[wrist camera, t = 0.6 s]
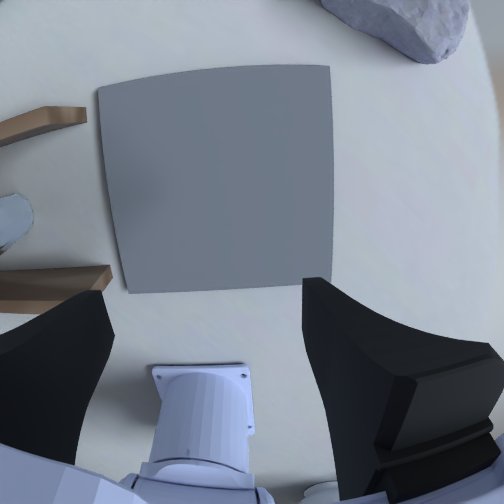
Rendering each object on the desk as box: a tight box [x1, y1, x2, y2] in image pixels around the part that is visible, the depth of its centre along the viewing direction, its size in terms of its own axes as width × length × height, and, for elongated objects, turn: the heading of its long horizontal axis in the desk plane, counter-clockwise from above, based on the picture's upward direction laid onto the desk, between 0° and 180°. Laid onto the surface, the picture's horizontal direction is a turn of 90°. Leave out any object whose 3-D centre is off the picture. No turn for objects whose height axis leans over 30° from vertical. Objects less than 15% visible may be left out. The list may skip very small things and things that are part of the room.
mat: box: [98, 65, 334, 294], centre depth 19 cm, size 14×14×1 cm
